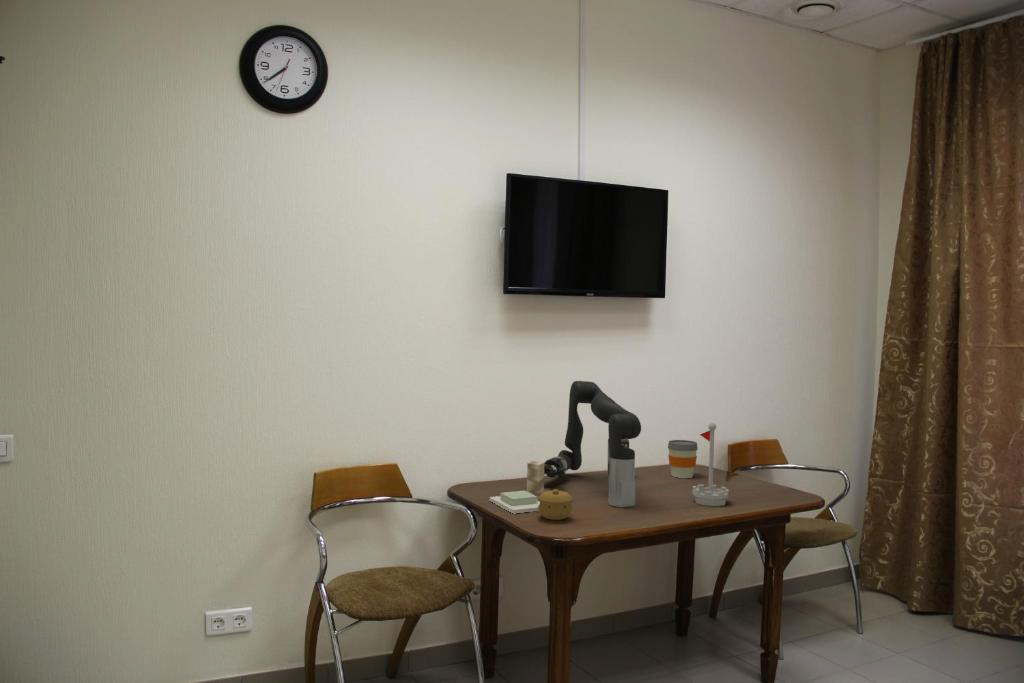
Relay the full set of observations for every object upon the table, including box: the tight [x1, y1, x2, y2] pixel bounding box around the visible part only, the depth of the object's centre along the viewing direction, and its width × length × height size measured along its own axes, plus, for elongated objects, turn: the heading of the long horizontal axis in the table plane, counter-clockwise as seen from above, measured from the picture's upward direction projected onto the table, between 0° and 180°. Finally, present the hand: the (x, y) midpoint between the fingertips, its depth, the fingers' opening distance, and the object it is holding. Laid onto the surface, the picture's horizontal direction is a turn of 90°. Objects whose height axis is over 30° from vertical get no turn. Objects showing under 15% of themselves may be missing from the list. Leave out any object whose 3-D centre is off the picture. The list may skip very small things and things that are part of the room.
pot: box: [537, 488, 574, 521], centre depth 261 cm, size 12×12×10 cm
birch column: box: [526, 460, 545, 495], centre depth 296 cm, size 5×5×12 cm
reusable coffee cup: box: [667, 439, 699, 479], centre depth 332 cm, size 13×13×15 cm
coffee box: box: [606, 438, 630, 479], centre depth 328 cm, size 9×6×16 cm
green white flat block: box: [489, 490, 540, 515], centre depth 277 cm, size 20×14×4 cm
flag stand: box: [692, 422, 730, 507], centre depth 287 cm, size 13×13×30 cm
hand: (540, 473), depth 300 cm, fingers open, 8 cm apart
